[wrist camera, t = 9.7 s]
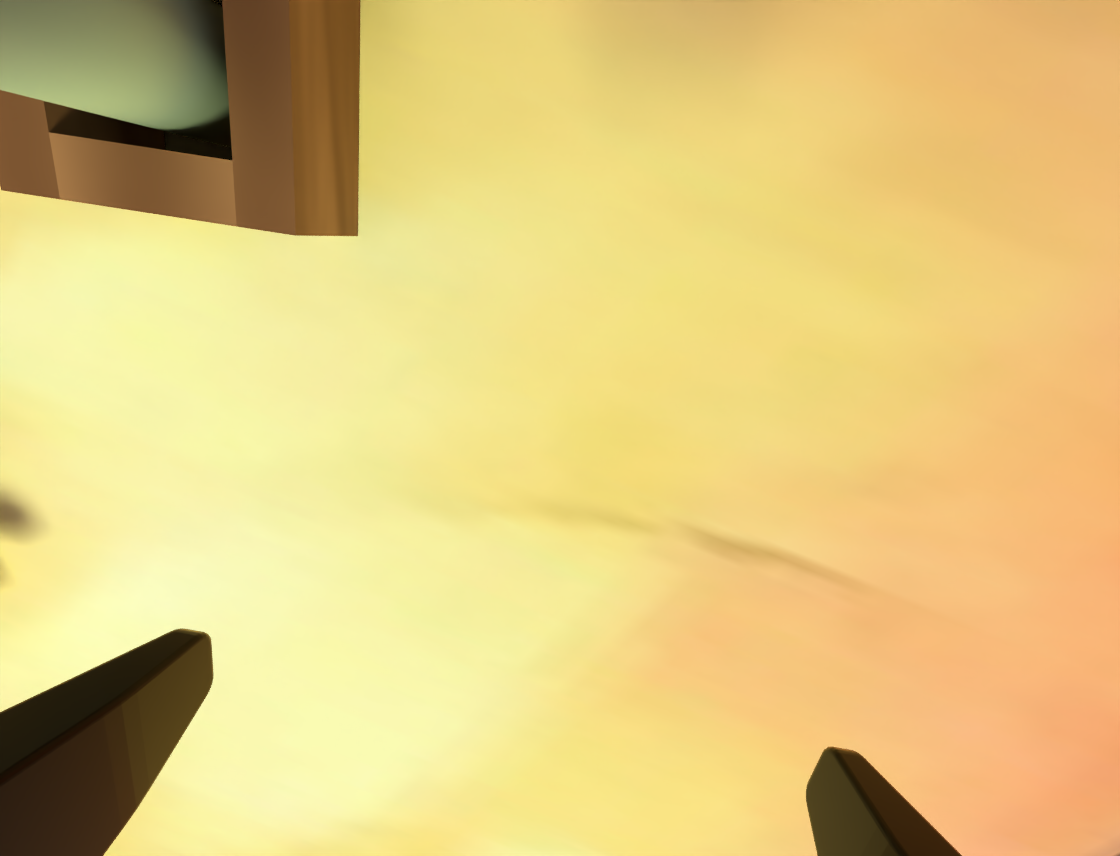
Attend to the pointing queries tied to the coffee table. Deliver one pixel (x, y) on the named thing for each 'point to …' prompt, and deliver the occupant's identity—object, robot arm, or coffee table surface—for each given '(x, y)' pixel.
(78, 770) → the robot arm
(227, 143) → the dowel
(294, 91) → the socket block
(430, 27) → the coffee table surface
